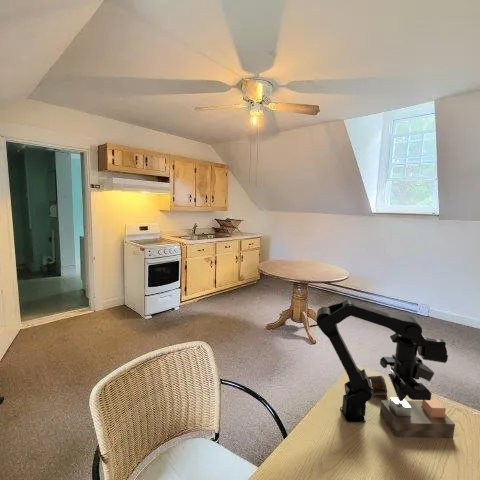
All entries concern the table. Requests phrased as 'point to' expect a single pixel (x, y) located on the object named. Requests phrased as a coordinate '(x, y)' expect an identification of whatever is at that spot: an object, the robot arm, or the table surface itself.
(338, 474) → the table surface
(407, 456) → the table surface
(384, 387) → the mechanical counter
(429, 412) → the terracotta plug
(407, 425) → the plug panel
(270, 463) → the table surface
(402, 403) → the aluminium plug
